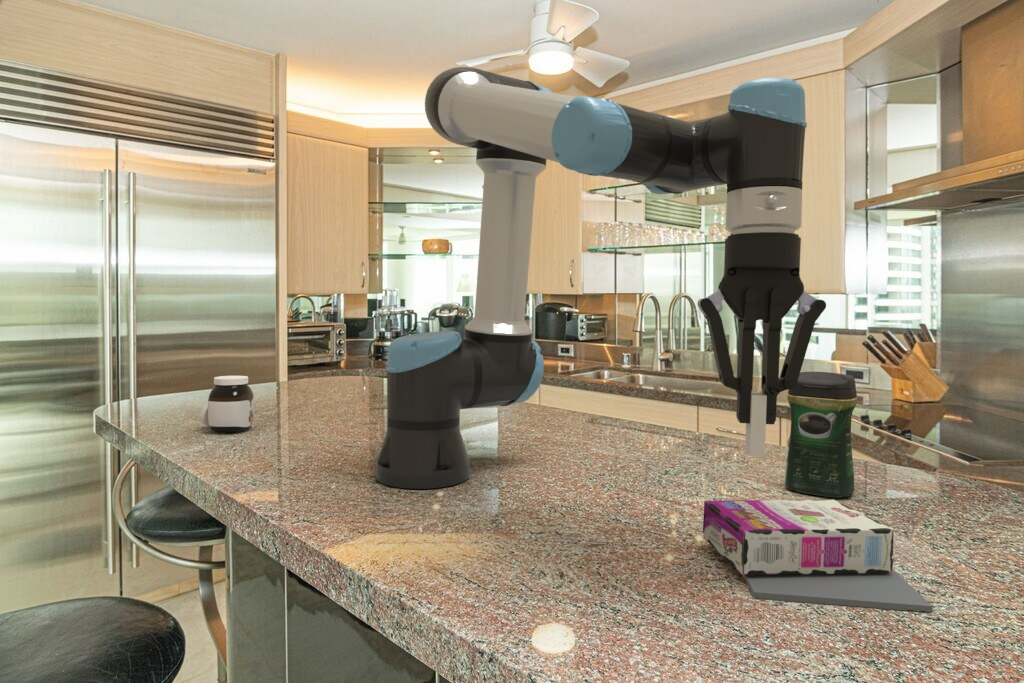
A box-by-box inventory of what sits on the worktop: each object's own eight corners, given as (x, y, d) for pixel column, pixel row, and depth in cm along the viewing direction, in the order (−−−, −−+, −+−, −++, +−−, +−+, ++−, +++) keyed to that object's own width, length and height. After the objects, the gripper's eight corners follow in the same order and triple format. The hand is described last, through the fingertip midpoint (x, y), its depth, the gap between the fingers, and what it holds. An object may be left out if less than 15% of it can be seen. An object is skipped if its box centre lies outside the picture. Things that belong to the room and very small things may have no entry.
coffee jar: (857, 491, 101) (863, 372, 100) (847, 503, 95) (852, 376, 94) (792, 480, 107) (797, 368, 106) (778, 490, 101) (783, 371, 100)
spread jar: (239, 435, 135) (238, 380, 134) (185, 434, 135) (184, 379, 135) (262, 425, 147) (261, 374, 146) (212, 424, 147) (212, 373, 147)
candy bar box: (741, 579, 66) (894, 575, 67) (742, 531, 66) (896, 528, 67) (701, 540, 77) (833, 537, 79) (702, 499, 77) (835, 497, 78)
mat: (753, 598, 63) (754, 592, 63) (725, 539, 79) (725, 534, 79) (932, 612, 61) (932, 606, 61) (866, 549, 77) (866, 544, 77)
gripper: (703, 229, 66) (696, 458, 67) (840, 229, 64) (830, 465, 65) (694, 237, 74) (688, 443, 75) (816, 237, 71) (808, 449, 73)
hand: (754, 453), depth 70 cm, fingers closed
